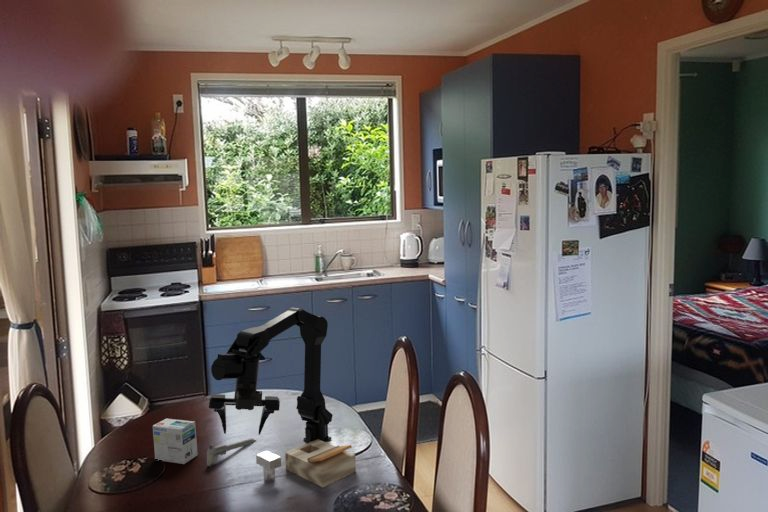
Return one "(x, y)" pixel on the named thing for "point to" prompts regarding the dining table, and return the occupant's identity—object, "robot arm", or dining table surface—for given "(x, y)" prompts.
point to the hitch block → (320, 463)
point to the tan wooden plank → (328, 453)
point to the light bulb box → (175, 440)
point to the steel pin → (268, 464)
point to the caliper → (224, 450)
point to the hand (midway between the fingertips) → (242, 433)
